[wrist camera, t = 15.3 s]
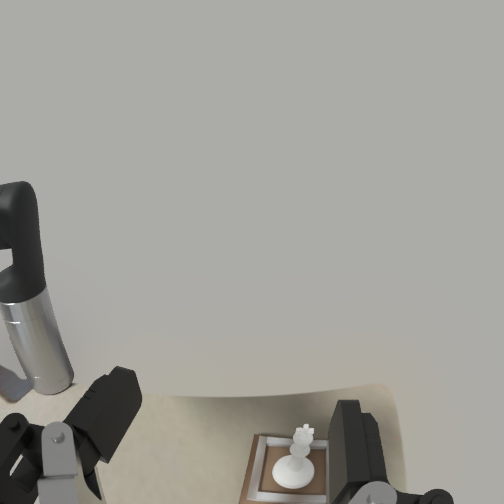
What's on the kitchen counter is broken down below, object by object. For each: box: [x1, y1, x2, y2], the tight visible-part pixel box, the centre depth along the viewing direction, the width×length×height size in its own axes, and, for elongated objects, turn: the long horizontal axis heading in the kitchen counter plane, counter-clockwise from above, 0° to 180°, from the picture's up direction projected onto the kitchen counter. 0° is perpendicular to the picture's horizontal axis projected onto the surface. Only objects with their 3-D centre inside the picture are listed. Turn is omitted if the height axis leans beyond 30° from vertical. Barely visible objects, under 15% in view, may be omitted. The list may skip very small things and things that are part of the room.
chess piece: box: [272, 424, 314, 489], centre depth 25 cm, size 5×5×10 cm
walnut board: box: [239, 434, 329, 504], centre depth 27 cm, size 11×11×2 cm
